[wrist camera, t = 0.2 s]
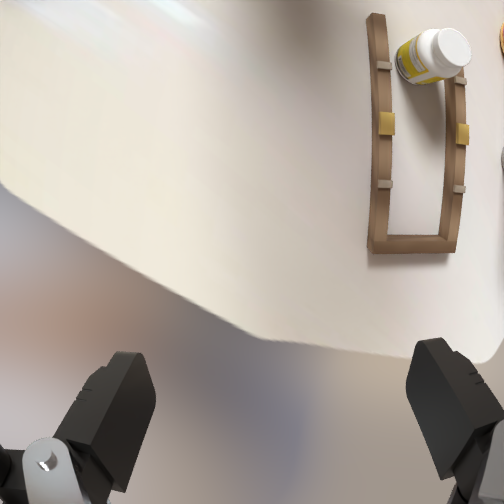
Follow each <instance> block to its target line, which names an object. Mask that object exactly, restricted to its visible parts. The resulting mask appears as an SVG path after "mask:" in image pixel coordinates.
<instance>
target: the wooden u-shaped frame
mask: <svg viewBox="0 0 504 504" xmlns="http://www.w3.org/2000/svg"><path fill="white" fill-rule="evenodd" d="M366 24H367V35H368V46H369V59H370V76H371V101H372V169H371V194H370V212H369V226H368V239H367V248H368V249H369V250H370V251H371V252H372V253H373V254H410V253H455V250H456V244H457V238H458V231H459V224H460V216H461V208H462V198H463V193H465V188H466V186H464V174H465V155H466V145H469V125H466V101H465V85H467V81H466V78H464V70H463V67H462V68H461V70H460V72H459V73H458V74H457V75H455V76H453V77H451V78H447V79H444V83H445V105H446V150H445V173H444V187H443V199H442V209H441V218H440V227H439V234H438V235H387V229H388V218H389V205H390V189H391V188H392V185H393V181H392V180H391V168H392V135H395V113H392V95H391V74H390V70H392V63H390V59H389V47H388V36H387V27H386V19H385V15H383V14H377V13H372V14H371V15H370V16H369V17H368V18H367V19H366Z"/></svg>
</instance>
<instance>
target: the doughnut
mask: <svg viewBox="0 0 504 504" xmlns="http://www.w3.org/2000/svg"><path fill="white" fill-rule="evenodd" d="M500 40H501V46H502V49H503V52H504V23H503V24H502V27H501V31H500Z"/></svg>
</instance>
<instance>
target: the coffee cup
mask: <svg viewBox="0 0 504 504" xmlns="http://www.w3.org/2000/svg"><path fill="white" fill-rule="evenodd" d="M502 166H503V169H504V148H503V151H502Z"/></svg>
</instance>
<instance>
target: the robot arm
mask: <svg viewBox="0 0 504 504" xmlns="http://www.w3.org/2000/svg"><path fill="white" fill-rule="evenodd" d="M406 394H407V398H408V400H409V403H410V405H411V407H412V410H413V412H414V414H415V417H416V419H417V421H418V424H419V426H420V429H421V431H422V433H423V436H424V438H425V441H426V443H427V446H428V448H429V451H430V453H431V456H432V459H433V461H434V464H435V466H436V469H437V472H438V474H439V477H440V480H444V479H447V478H450V477H453V476H455V479H456V482H457V483H456V484H455V485H454V487H453V490H452V492H451V495H450V498H449V500H448V502H447V504H504V410H503V409H502V407H501V405H500V403H499V402H498V400H497V399H496V397H495V396H494V394H493V393H492V392H491V390H490V388H489V387H488V386H487V384H486V383H484V380H483V378H482V377H481V375H480V374H478V371H477V370H476V368H475V367H474V365H473V364H472V363H471V361H470V360H469V359H467V358H466V357H465V356H463V355H462V354H460V353H459V352H458V351H454V352H453V351H452V349H451V348H450V347H449V345H448V344H447V343H446V341H445V340H444V339H443V338H441V337H440V338H434V339H427V340H421V341H418V342H417V344H416V346H415V349H414V353H413V357H412V361H411V365H410V369H409V372H408V376H407V380H406ZM155 404H156V394H155V389H154V386H153V383H152V380H151V377H150V374H149V371H148V368H147V365H146V361H145V358H144V356H143V355H142V354H141V353H136V352H120V351H119V352H116V353H115V354H114V355H113V357H112V359H111V360H110V362H109V364H108V365H107V367H103V366H102V367H100V368H99V369H98V370H97V371H96V372H94V373H93V374H92V375H91V376H90V377H89V378H88V380H87V381H86V383H85V385H84V386H83V388H82V391H80V392H79V394H78V396H77V397H76V401H74V402H73V404H72V406H71V407H70V409H69V410H68V412H67V414H66V415H65V417H64V419H63V421H62V422H61V424H60V426H59V427H58V429H57V431H56V433H55V434H54V436H53V437H52V438H42V439H39V440H36V441H35V442H33V443H32V444H31V445H29V446H28V447H27V449H26V450H8V449H4V448H3V447H2V446H1V445H0V499H1V500H2V501H3V504H111V502H110V500H109V499H108V497H109V494H110V492H111V490H115V491H119V492H123V493H125V492H126V489H127V486H128V483H129V480H130V477H131V474H132V471H133V468H134V465H135V462H136V460H137V457H138V454H139V450H140V448H141V445H142V442H143V440H144V437H145V434H146V431H147V428H148V426H149V423H150V420H151V417H152V415H153V412H154V409H155Z"/></svg>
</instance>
